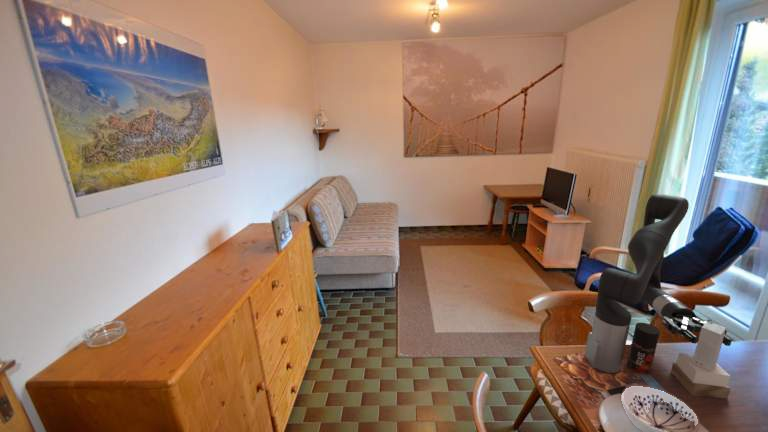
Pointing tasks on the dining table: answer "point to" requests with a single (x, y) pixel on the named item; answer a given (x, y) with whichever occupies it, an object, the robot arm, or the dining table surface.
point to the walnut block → (699, 385)
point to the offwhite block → (702, 372)
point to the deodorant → (643, 348)
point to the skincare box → (709, 345)
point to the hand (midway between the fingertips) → (712, 342)
